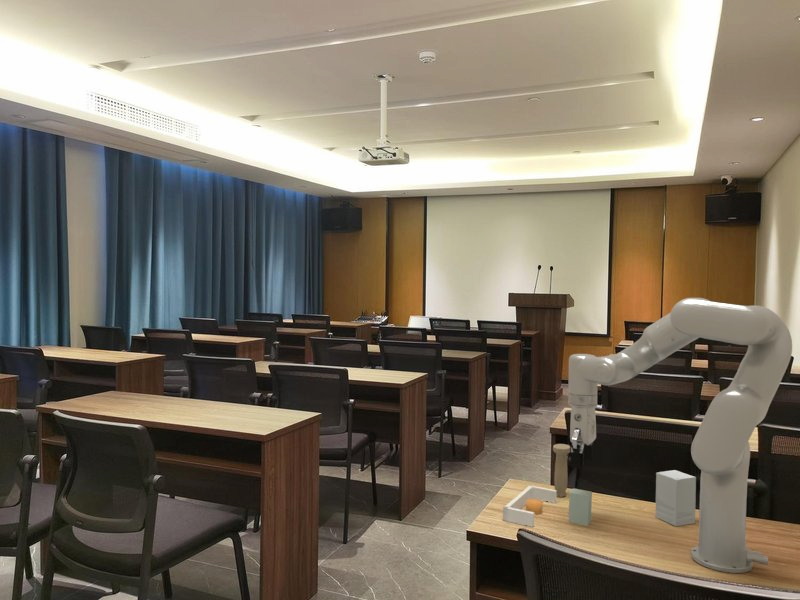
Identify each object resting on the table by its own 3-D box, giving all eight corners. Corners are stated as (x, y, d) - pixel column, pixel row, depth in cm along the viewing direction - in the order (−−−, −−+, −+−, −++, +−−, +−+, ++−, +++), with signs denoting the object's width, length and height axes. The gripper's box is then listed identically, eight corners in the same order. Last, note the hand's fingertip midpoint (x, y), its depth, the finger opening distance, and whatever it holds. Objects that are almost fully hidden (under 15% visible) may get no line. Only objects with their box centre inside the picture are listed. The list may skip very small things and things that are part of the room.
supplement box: (696, 523, 162) (697, 477, 162) (675, 527, 159) (676, 479, 159) (674, 513, 169) (675, 469, 169) (654, 517, 166) (655, 471, 166)
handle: (570, 494, 184) (572, 445, 184) (566, 500, 178) (567, 450, 178) (555, 491, 186) (556, 443, 186) (549, 497, 180) (551, 447, 180)
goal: (556, 502, 176) (556, 490, 176) (532, 527, 157) (533, 513, 157) (529, 496, 180) (529, 485, 180) (503, 520, 161) (503, 507, 161)
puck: (544, 511, 169) (544, 500, 169) (539, 516, 165) (539, 505, 165) (529, 508, 171) (529, 497, 171) (523, 512, 168) (524, 502, 167)
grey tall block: (591, 521, 162) (591, 491, 162) (587, 525, 159) (588, 495, 159) (572, 517, 165) (573, 488, 165) (568, 521, 161) (569, 492, 161)
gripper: (589, 406, 152) (588, 473, 152) (603, 396, 167) (603, 458, 167) (559, 403, 156) (559, 469, 156) (576, 394, 171) (575, 454, 171)
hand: (581, 463), depth 162 cm, fingers open, 9 cm apart
